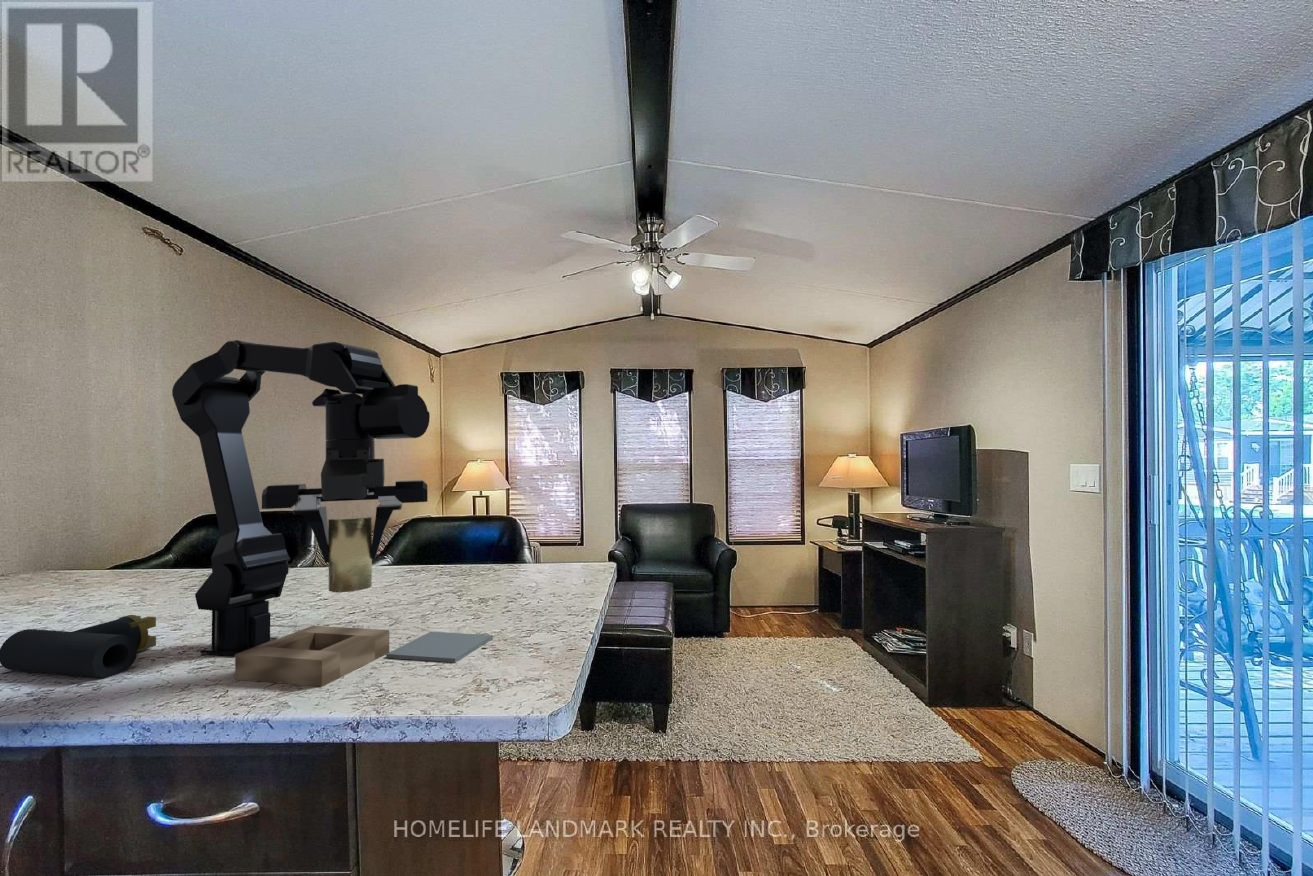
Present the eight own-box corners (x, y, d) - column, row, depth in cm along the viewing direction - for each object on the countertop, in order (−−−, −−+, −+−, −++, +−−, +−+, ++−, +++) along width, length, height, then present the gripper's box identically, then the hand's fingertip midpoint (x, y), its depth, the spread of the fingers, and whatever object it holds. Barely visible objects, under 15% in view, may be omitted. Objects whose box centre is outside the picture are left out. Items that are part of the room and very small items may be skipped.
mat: (386, 657, 77) (386, 654, 77) (430, 635, 87) (430, 631, 87) (455, 662, 75) (455, 658, 75) (492, 638, 85) (492, 635, 85)
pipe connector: (102, 609, 84) (187, 614, 81) (102, 646, 84) (188, 652, 81) (-2, 635, 73) (92, 641, 70) (-2, 678, 73) (92, 686, 70)
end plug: (319, 591, 75) (319, 520, 75) (348, 583, 80) (348, 516, 80) (353, 592, 74) (352, 520, 74) (380, 584, 78) (380, 516, 79)
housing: (235, 679, 70) (235, 654, 70) (313, 647, 82) (313, 625, 82) (321, 686, 68) (321, 660, 68) (389, 652, 80) (389, 630, 80)
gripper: (249, 438, 66) (249, 578, 66) (427, 437, 73) (428, 564, 73) (272, 442, 77) (272, 562, 76) (426, 440, 84) (427, 551, 83)
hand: (350, 560), depth 77 cm, fingers closed on end plug, 5 cm apart
